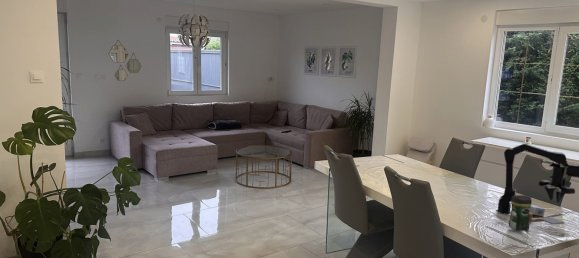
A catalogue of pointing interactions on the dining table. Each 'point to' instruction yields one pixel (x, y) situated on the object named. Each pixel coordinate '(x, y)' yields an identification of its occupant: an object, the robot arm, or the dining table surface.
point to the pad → (552, 220)
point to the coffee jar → (520, 212)
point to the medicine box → (537, 210)
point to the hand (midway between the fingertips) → (554, 201)
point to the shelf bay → (534, 218)
